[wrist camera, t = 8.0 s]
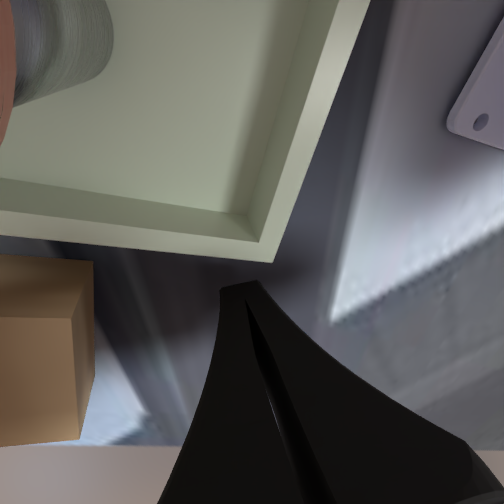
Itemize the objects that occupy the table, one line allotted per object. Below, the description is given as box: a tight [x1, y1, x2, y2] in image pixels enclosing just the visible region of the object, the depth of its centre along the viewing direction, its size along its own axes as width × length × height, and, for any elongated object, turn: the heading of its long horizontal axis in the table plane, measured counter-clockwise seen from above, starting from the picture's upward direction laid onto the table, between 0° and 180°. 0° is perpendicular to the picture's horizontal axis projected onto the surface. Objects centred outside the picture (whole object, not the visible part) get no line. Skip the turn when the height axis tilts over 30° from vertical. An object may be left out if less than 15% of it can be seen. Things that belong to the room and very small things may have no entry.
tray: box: [0, 0, 371, 263], centre depth 6 cm, size 10×8×2 cm
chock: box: [0, 254, 95, 447], centre depth 10 cm, size 4×6×3 cm, turn 165°
